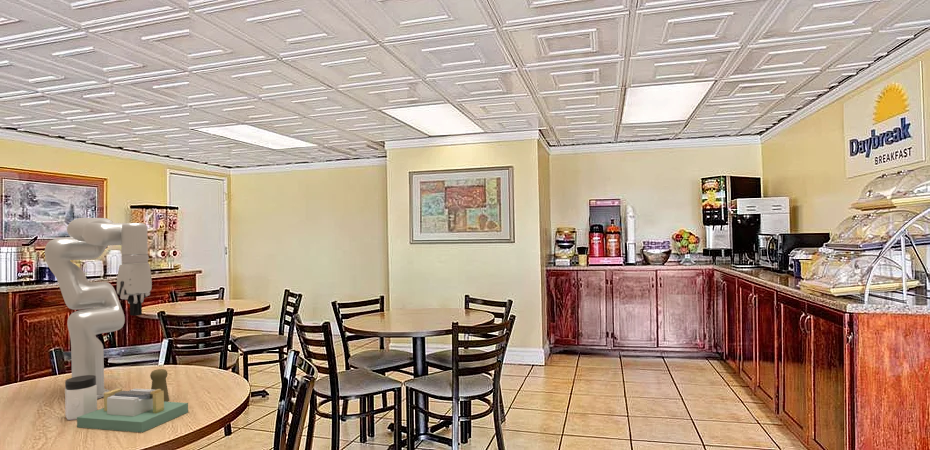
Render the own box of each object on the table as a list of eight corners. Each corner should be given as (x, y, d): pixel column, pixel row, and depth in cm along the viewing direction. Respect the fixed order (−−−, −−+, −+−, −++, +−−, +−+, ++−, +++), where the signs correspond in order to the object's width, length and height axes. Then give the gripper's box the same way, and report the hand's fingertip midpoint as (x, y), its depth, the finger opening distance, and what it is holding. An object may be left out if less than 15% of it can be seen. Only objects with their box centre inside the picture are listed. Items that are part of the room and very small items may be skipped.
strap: (114, 397, 169) (114, 391, 169) (123, 394, 172) (123, 388, 172) (149, 399, 166) (149, 393, 166) (157, 396, 169) (157, 390, 169)
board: (77, 427, 164) (76, 399, 164) (128, 408, 181) (127, 382, 181) (141, 432, 158) (141, 403, 158) (188, 412, 175) (187, 385, 175)
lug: (150, 412, 166) (150, 391, 166) (158, 409, 169) (158, 388, 169) (156, 413, 165) (155, 391, 166) (164, 410, 168) (163, 389, 168)
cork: (160, 404, 184) (159, 372, 184) (145, 404, 185) (144, 371, 185) (173, 399, 190) (172, 367, 190) (158, 398, 191) (157, 367, 191)
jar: (59, 421, 170) (58, 382, 170) (71, 413, 178) (71, 376, 178) (91, 418, 172) (90, 380, 172) (102, 410, 180) (101, 374, 180)
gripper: (144, 258, 189) (145, 311, 189) (105, 261, 174) (106, 318, 174) (162, 258, 187) (163, 311, 187) (124, 261, 173) (125, 318, 172)
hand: (135, 315), depth 180 cm, fingers closed
